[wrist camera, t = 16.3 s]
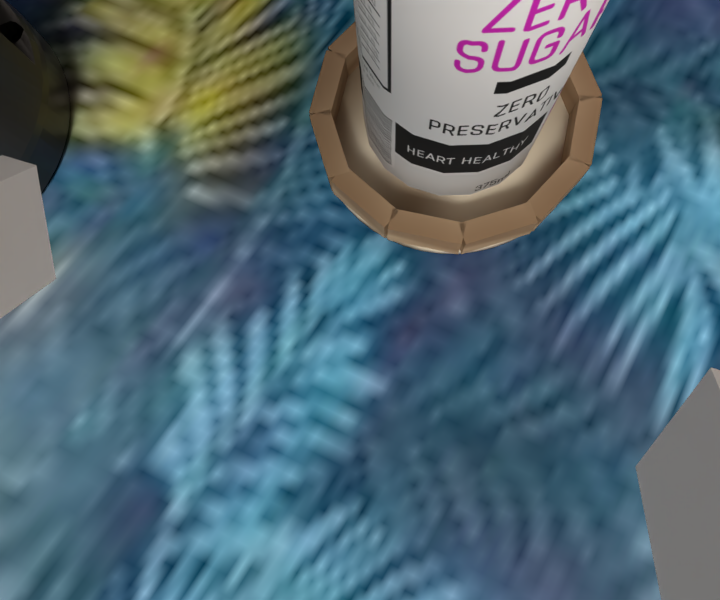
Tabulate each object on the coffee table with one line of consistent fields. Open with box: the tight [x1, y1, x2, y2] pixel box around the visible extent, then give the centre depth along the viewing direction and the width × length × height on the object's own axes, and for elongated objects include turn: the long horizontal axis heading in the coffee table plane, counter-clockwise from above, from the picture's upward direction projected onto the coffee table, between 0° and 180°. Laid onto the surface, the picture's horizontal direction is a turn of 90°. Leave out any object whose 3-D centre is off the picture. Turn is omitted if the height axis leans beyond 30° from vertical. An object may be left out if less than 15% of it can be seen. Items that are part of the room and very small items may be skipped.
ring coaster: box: [309, 22, 602, 254], centre depth 26 cm, size 13×13×2 cm
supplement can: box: [353, 0, 609, 196], centre depth 19 cm, size 8×8×15 cm
